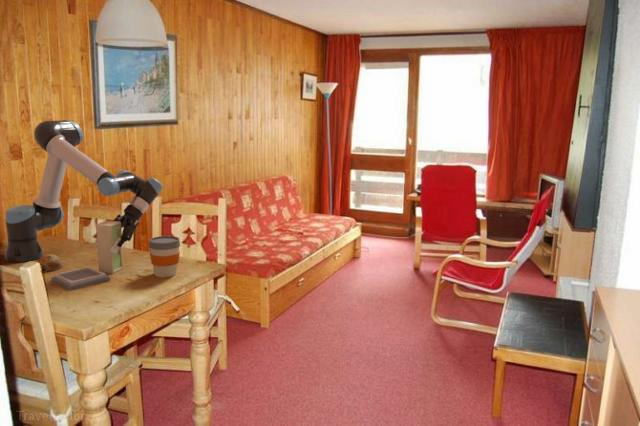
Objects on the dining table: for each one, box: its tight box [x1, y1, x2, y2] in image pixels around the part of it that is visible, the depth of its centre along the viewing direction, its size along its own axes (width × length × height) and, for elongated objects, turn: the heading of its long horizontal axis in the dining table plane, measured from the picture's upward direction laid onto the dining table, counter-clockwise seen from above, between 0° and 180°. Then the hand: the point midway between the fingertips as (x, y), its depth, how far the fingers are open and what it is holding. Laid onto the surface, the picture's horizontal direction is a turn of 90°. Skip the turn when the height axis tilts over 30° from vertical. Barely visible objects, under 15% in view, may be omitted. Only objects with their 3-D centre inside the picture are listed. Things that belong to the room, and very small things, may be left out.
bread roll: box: [36, 253, 63, 272], centre depth 218 cm, size 10×10×8 cm
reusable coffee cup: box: [148, 235, 181, 278], centre depth 214 cm, size 13×13×15 cm
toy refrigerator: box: [95, 220, 124, 275], centre depth 215 cm, size 8×7×21 cm
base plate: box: [50, 266, 111, 291], centre depth 204 cm, size 16×16×3 cm
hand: (104, 249), depth 213 cm, fingers open, 11 cm apart
